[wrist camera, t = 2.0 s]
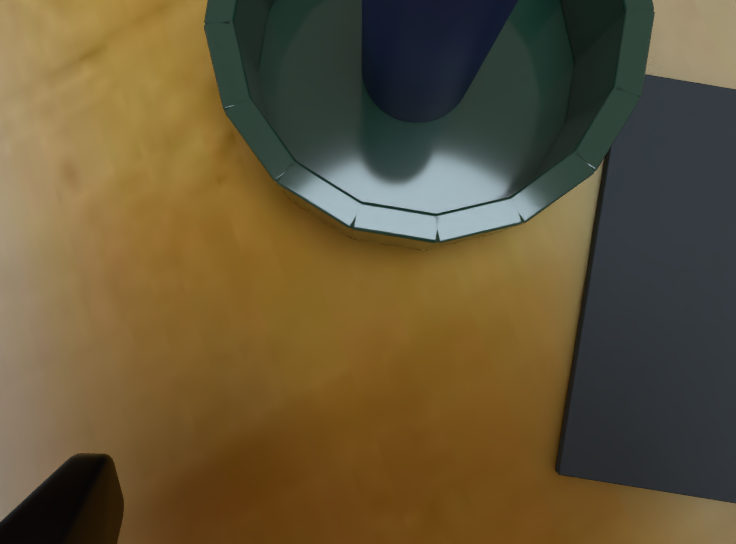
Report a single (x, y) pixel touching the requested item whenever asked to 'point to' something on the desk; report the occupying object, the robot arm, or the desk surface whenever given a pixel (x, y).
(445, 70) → the disc
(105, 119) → the desk surface
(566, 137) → the pot
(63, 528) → the robot arm
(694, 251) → the dark grey flat plate
